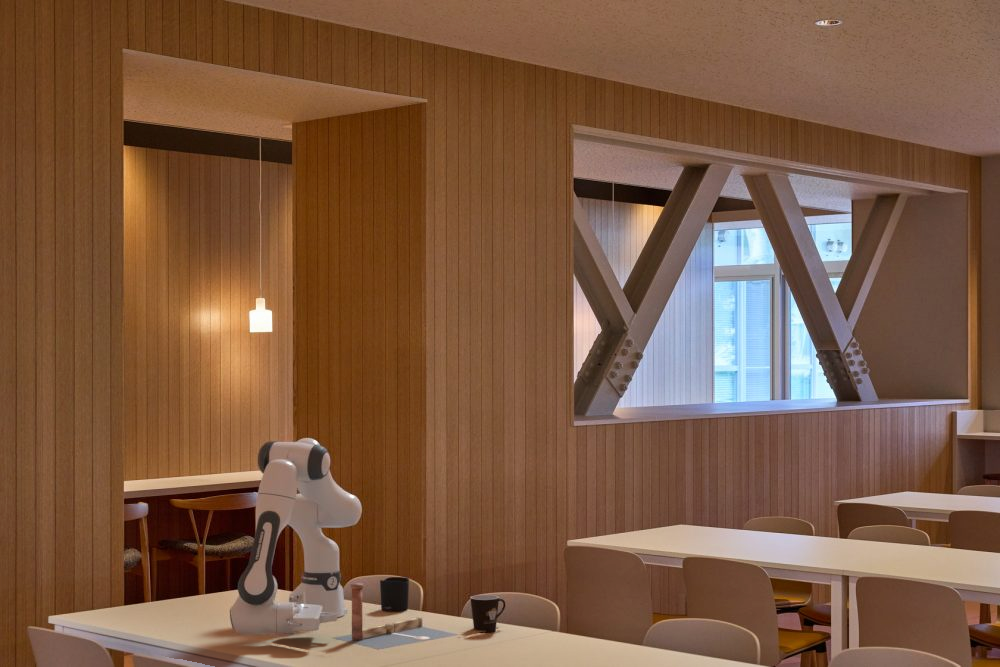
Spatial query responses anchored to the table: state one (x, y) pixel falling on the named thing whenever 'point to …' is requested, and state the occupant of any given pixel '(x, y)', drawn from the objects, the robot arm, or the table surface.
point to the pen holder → (394, 594)
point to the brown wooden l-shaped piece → (357, 616)
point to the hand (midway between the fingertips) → (337, 617)
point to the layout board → (398, 637)
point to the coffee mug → (485, 612)
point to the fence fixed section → (403, 625)
